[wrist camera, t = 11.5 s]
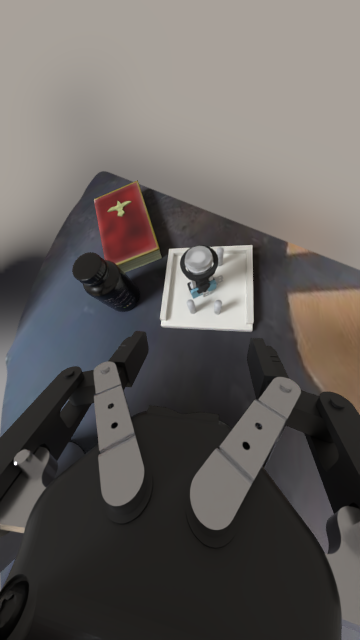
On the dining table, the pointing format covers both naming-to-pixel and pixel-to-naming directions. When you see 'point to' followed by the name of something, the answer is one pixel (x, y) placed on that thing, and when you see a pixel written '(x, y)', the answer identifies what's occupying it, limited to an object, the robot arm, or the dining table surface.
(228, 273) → the tray
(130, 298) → the supplement bottle
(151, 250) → the hardcover book
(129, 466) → the robot arm
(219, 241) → the dining table surface
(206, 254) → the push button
